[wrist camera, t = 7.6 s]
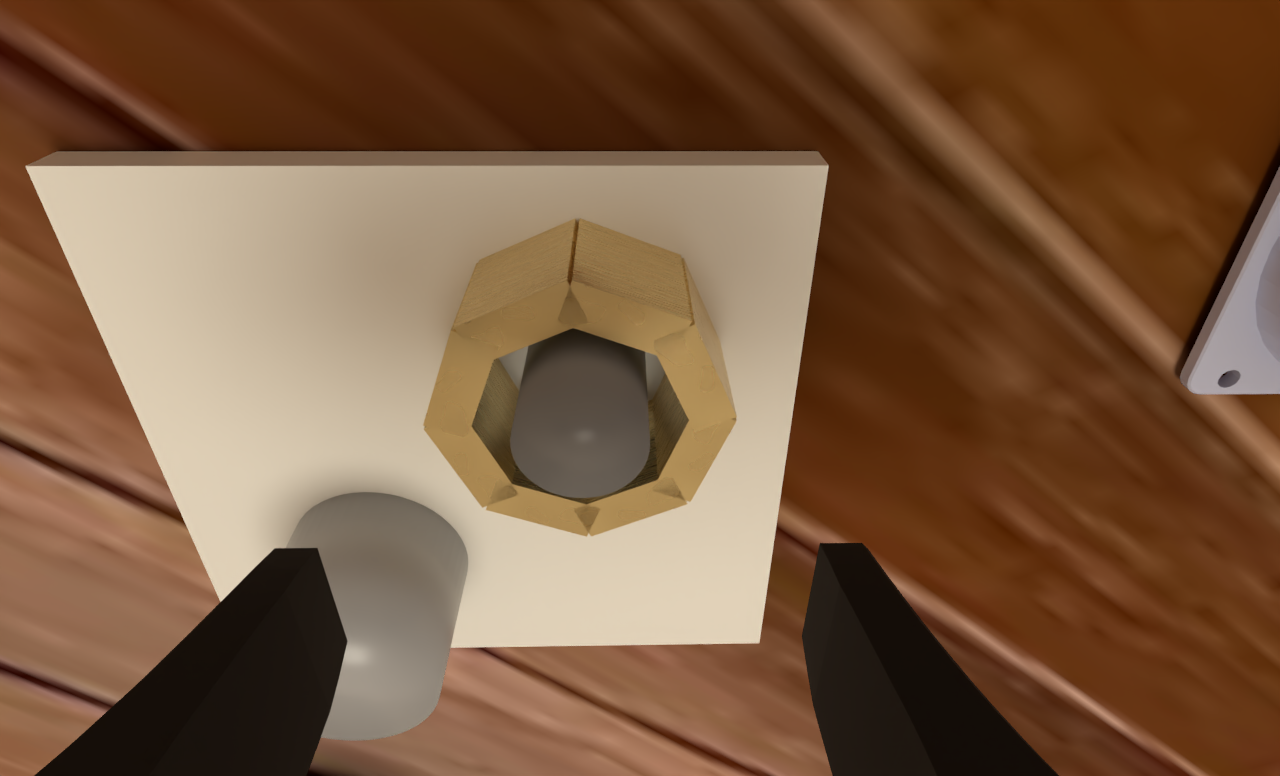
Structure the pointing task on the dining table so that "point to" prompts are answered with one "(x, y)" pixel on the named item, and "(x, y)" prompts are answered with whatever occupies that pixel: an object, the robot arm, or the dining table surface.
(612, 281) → the ring
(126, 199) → the stub board
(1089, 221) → the dining table surface
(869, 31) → the dining table surface
